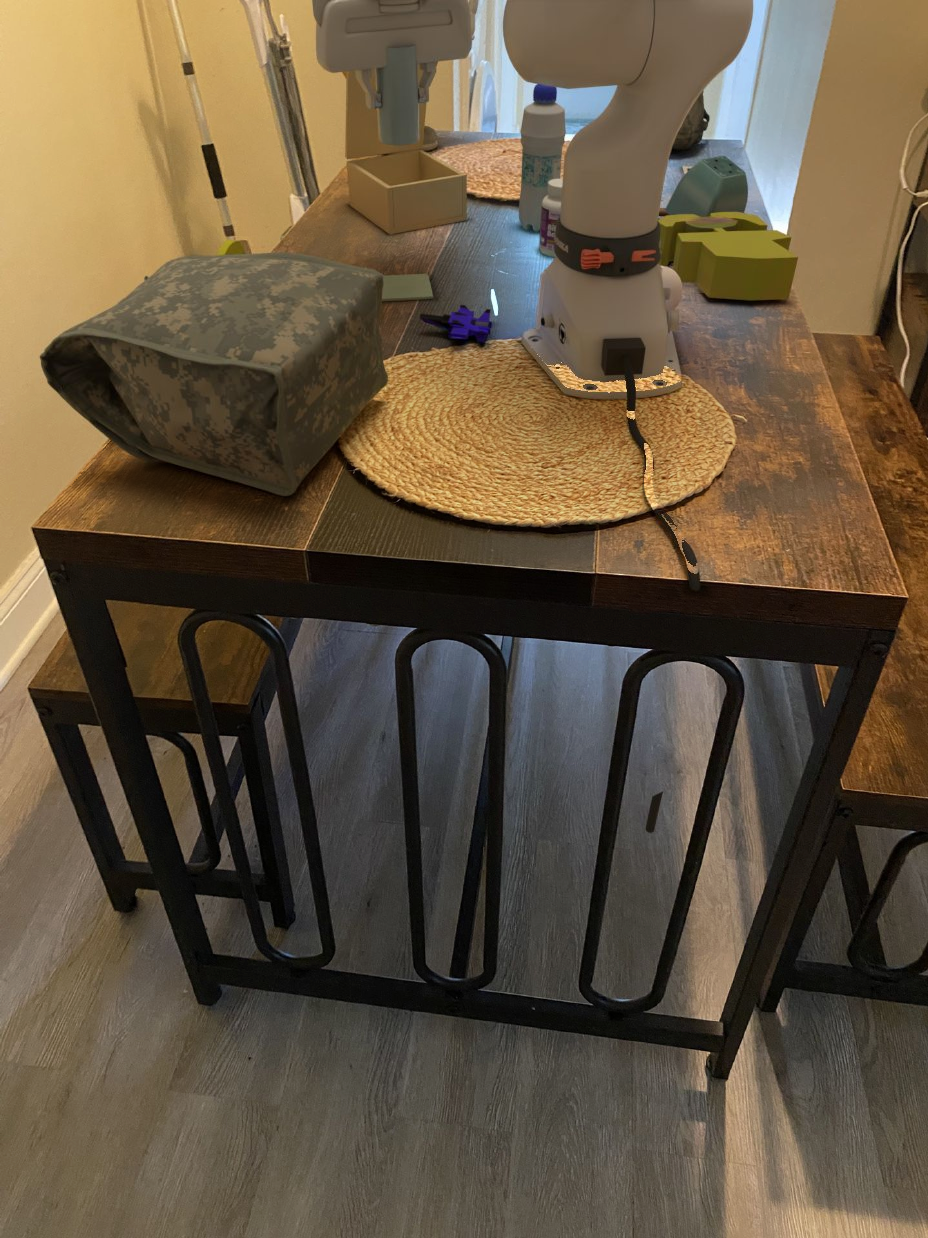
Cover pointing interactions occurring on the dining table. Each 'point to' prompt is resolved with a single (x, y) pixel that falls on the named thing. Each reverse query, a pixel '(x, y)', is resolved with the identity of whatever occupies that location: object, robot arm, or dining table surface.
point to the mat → (406, 287)
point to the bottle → (540, 152)
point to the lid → (370, 122)
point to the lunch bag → (229, 364)
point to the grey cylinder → (398, 97)
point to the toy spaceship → (462, 324)
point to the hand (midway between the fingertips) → (398, 104)
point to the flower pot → (710, 189)
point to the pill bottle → (550, 216)
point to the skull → (692, 126)
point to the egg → (672, 287)
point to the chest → (407, 191)
